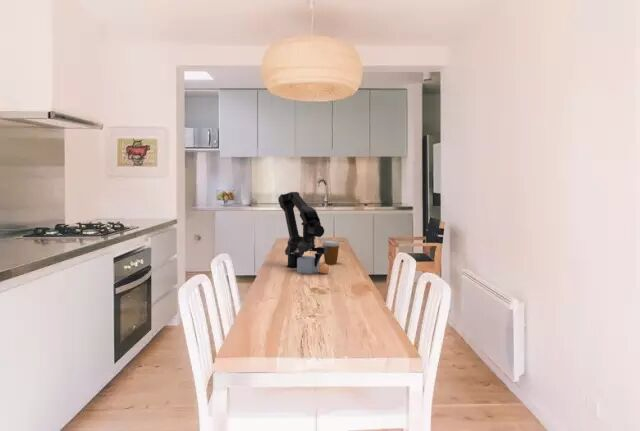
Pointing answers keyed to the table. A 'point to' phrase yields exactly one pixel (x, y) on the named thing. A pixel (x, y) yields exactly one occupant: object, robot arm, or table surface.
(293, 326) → the table surface
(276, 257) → the table surface
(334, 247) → the disposable coffee cup
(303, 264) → the grey rectangular block
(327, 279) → the table surface
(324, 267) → the ball
